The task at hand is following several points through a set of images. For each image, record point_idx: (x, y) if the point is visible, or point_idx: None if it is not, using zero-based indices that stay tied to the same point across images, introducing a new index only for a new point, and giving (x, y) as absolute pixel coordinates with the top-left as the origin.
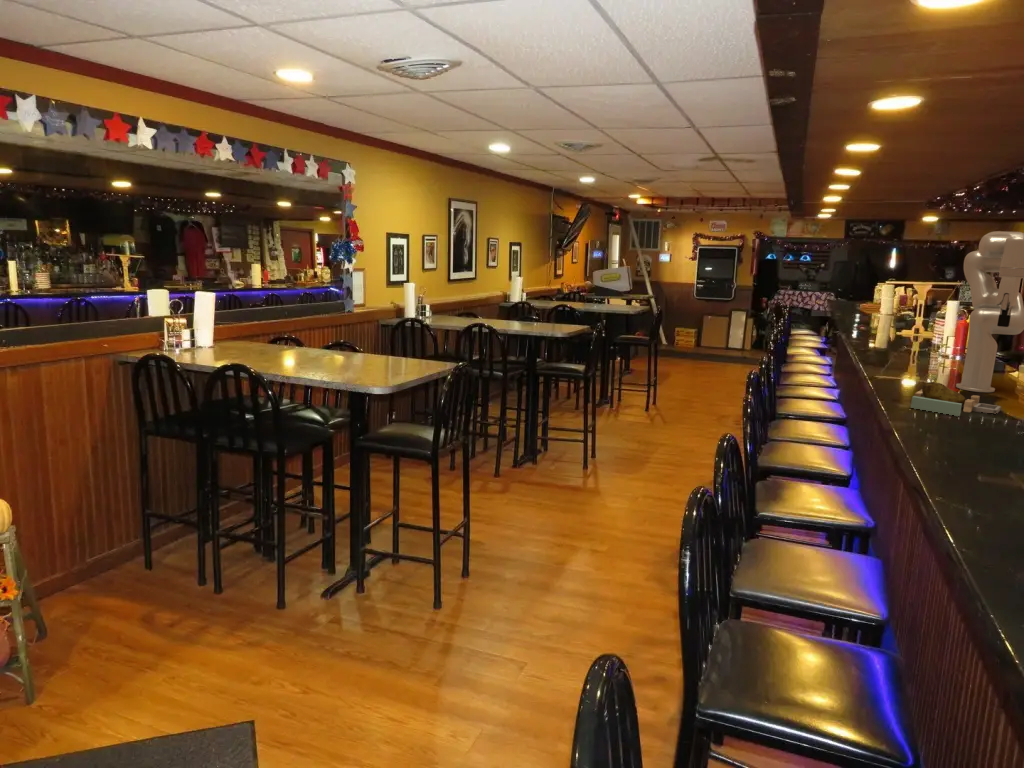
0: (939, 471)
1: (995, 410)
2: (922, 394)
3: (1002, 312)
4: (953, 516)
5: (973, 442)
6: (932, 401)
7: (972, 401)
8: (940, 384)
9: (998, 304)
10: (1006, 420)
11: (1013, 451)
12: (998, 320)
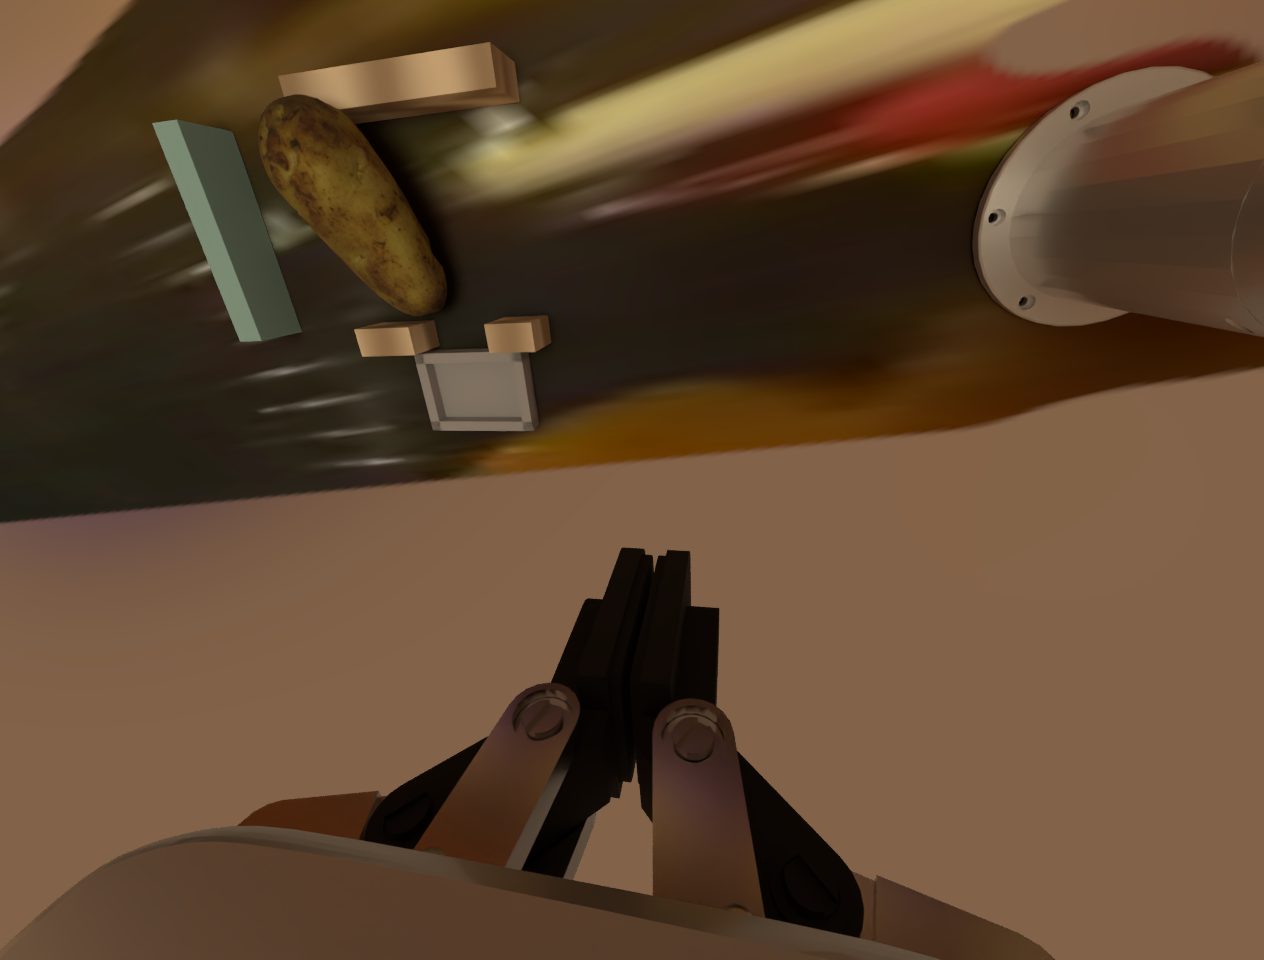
0: None
1: (432, 426)
2: None
3: (468, 758)
4: None
5: (59, 433)
6: (199, 227)
7: (380, 354)
8: (299, 197)
9: (580, 920)
10: (392, 461)
11: (94, 510)
12: (602, 600)
